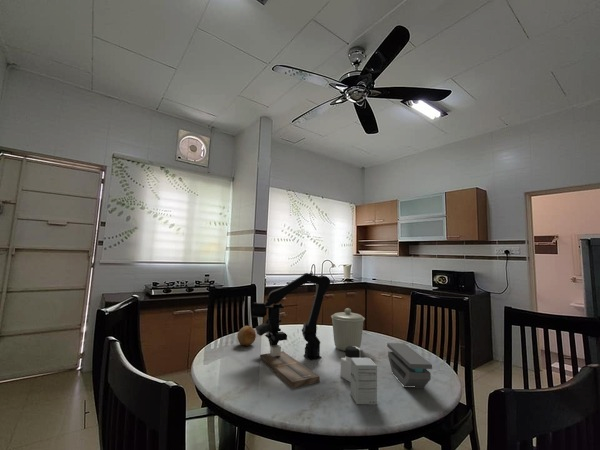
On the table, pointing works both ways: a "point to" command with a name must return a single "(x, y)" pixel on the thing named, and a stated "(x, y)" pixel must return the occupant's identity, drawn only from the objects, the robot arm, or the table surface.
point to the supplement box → (363, 381)
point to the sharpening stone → (408, 365)
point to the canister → (347, 329)
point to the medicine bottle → (348, 361)
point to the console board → (290, 370)
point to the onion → (246, 335)
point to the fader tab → (275, 350)
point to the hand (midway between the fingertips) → (272, 351)
